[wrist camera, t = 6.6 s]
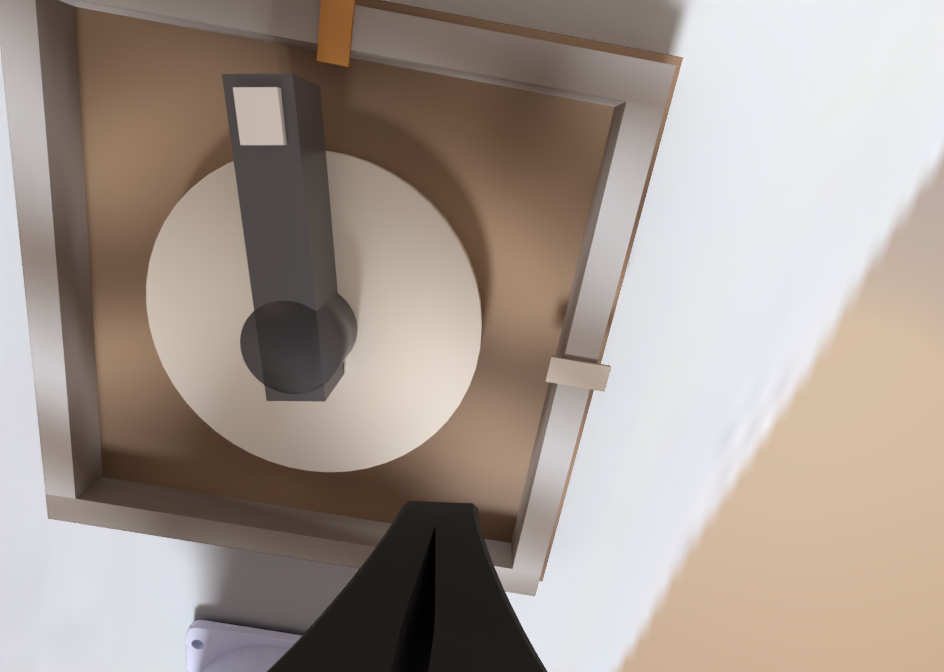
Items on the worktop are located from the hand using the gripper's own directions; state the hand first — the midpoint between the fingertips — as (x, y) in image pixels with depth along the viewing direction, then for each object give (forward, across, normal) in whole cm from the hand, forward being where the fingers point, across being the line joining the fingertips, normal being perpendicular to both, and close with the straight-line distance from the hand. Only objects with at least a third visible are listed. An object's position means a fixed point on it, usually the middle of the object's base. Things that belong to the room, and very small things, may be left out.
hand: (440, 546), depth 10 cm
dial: (+7, +4, -3) cm, 9 cm away
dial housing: (+9, +4, -2) cm, 10 cm away
